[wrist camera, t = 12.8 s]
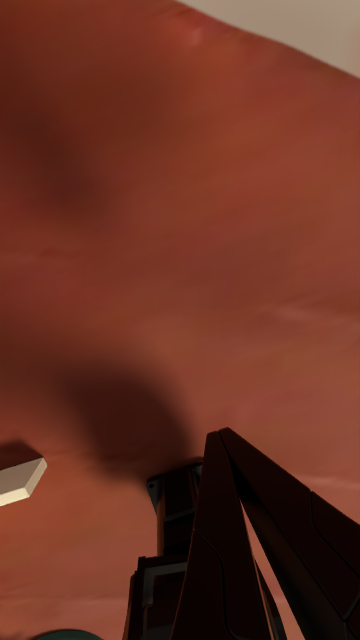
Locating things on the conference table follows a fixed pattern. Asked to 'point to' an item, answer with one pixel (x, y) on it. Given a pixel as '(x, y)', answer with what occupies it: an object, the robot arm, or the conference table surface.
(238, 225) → the conference table surface
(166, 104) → the conference table surface
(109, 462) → the conference table surface
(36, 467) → the frame
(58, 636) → the toy helicopter
